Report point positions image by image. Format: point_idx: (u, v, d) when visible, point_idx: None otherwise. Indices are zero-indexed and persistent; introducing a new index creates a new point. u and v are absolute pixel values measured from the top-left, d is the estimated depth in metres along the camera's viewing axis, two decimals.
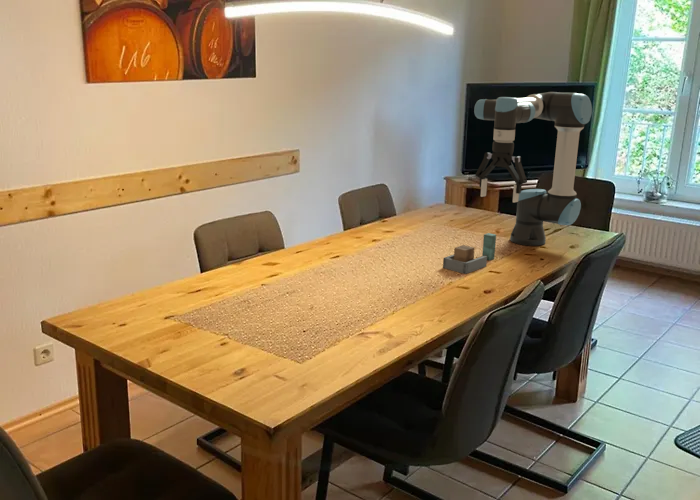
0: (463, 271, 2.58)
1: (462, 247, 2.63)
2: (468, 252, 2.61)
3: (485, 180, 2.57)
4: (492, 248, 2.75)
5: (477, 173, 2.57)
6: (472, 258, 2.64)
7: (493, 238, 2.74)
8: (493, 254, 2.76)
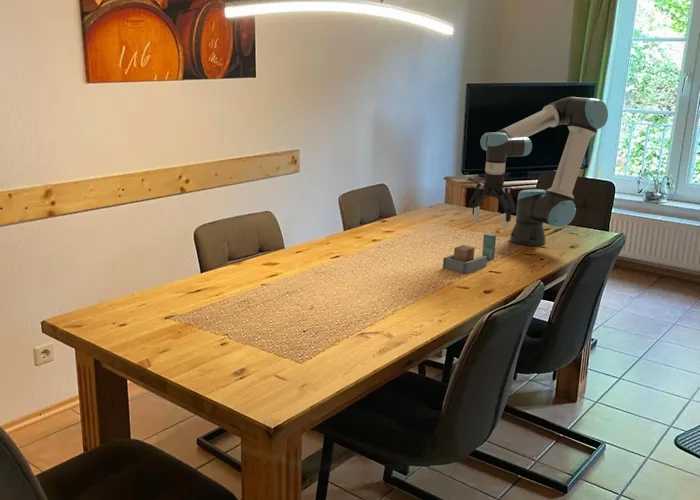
0: (463, 271, 2.58)
1: (462, 247, 2.63)
2: (468, 252, 2.61)
3: (477, 208, 2.76)
4: (492, 248, 2.75)
5: (470, 201, 2.76)
6: (472, 258, 2.64)
7: (493, 238, 2.74)
8: (493, 254, 2.76)
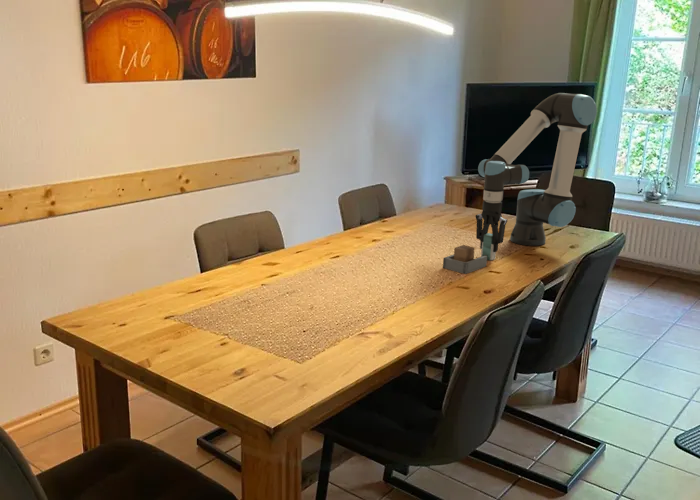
0: (463, 271, 2.58)
1: (462, 247, 2.63)
2: (468, 252, 2.61)
3: None
4: None
5: (477, 236, 2.77)
6: (472, 258, 2.64)
7: None
8: None
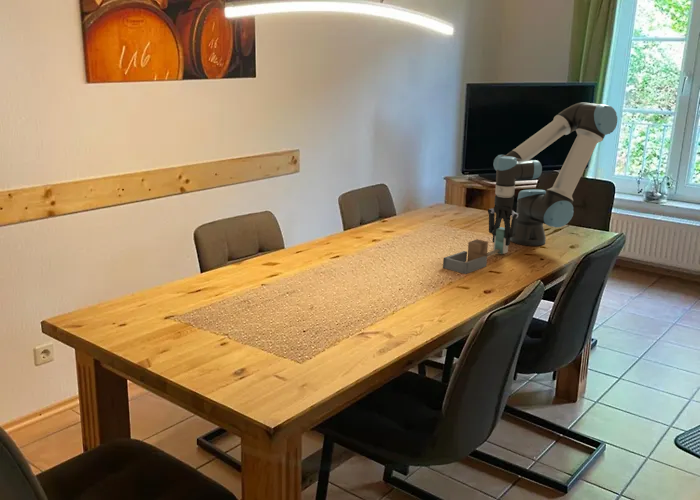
0: (463, 271, 2.58)
1: (476, 241, 2.69)
2: (481, 246, 2.66)
3: None
4: None
5: (490, 230, 2.83)
6: (486, 252, 2.69)
7: None
8: None
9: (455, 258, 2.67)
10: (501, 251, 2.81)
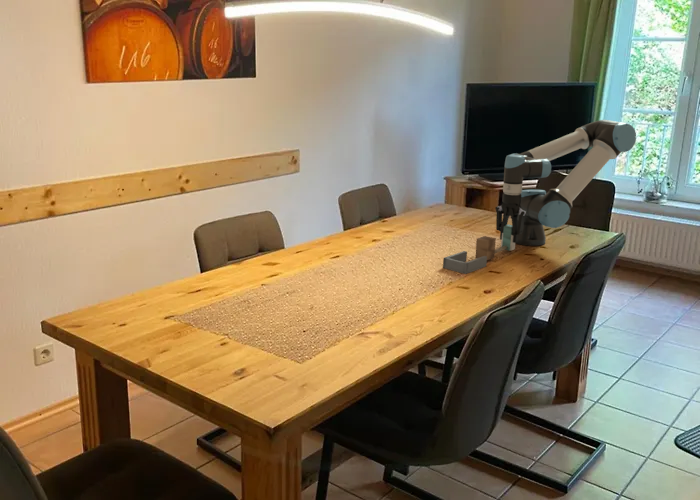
0: (463, 271, 2.58)
1: (484, 238, 2.73)
2: (489, 243, 2.70)
3: None
4: None
5: (497, 227, 2.87)
6: (493, 248, 2.74)
7: None
8: None
9: (455, 258, 2.67)
10: (508, 248, 2.85)
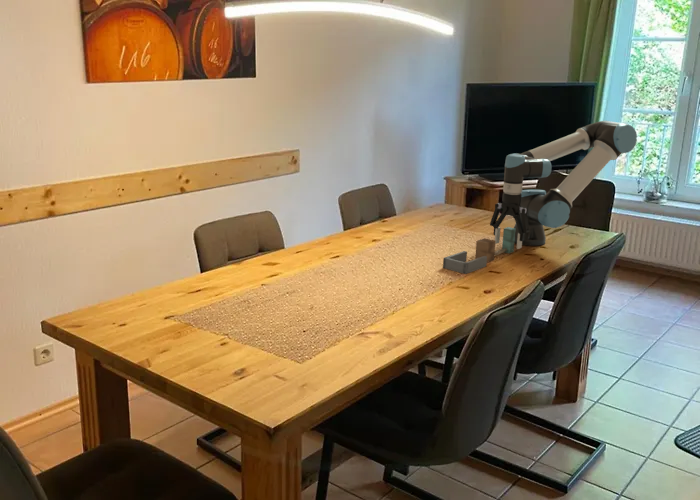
0: (463, 271, 2.58)
1: (484, 240, 2.73)
2: (489, 245, 2.71)
3: (498, 229, 2.88)
4: (512, 242, 2.85)
5: (491, 222, 2.88)
6: (493, 251, 2.74)
7: (513, 232, 2.84)
8: (512, 247, 2.86)
9: (455, 258, 2.67)
10: (508, 250, 2.85)
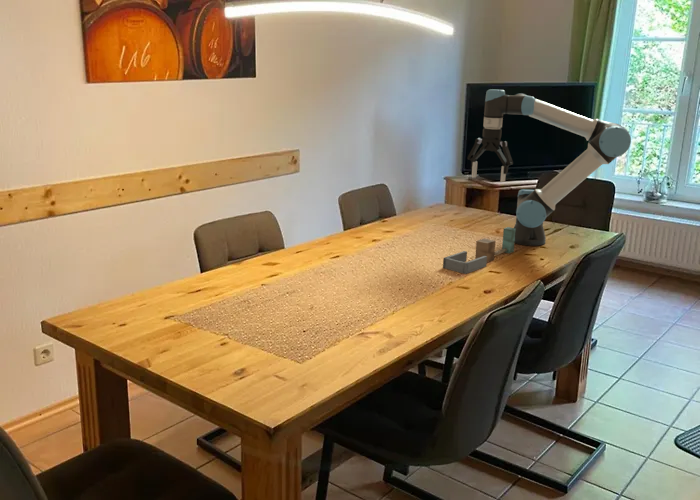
0: (463, 271, 2.58)
1: (484, 240, 2.73)
2: (489, 245, 2.71)
3: (476, 163, 2.91)
4: (512, 242, 2.85)
5: (469, 156, 2.91)
6: (493, 251, 2.74)
7: (513, 232, 2.84)
8: (512, 247, 2.86)
9: (455, 258, 2.67)
10: (508, 250, 2.85)
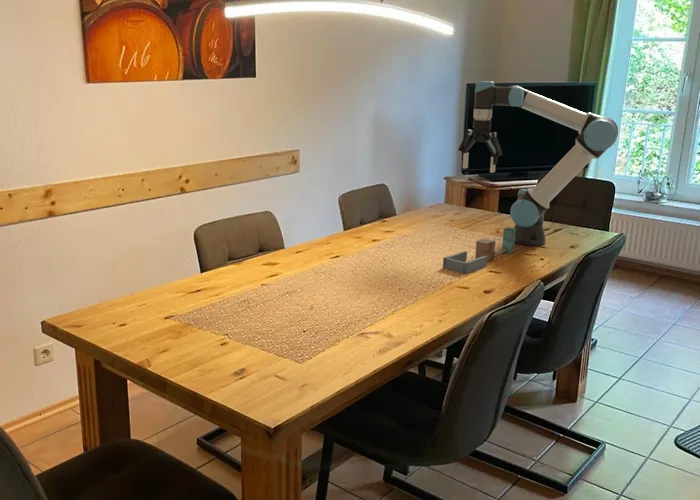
0: (463, 271, 2.58)
1: (484, 240, 2.73)
2: (489, 245, 2.71)
3: (467, 154, 2.94)
4: (512, 242, 2.85)
5: (460, 148, 2.95)
6: (493, 251, 2.74)
7: (513, 232, 2.84)
8: (512, 247, 2.86)
9: (455, 258, 2.67)
10: (508, 250, 2.85)
